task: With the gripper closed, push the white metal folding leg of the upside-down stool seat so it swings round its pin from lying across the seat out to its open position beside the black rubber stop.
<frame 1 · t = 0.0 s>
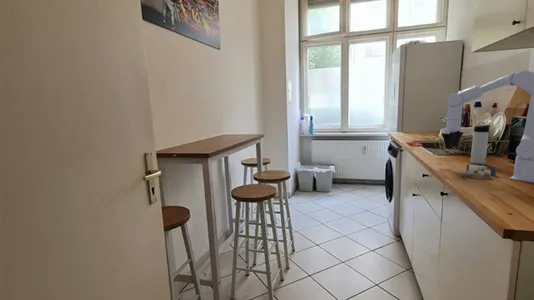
hand: (451, 147, 139), 10 cm above the worktop, tool pointing down, fingers open, 7 cm apart
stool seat: (474, 175, 125), on the worktop
rubber stop: (492, 175, 126), on the worktop
hinged leg: (476, 168, 127), point 3 cm above the worktop, hinge at 0.0°
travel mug: (477, 164, 148), on the worktop
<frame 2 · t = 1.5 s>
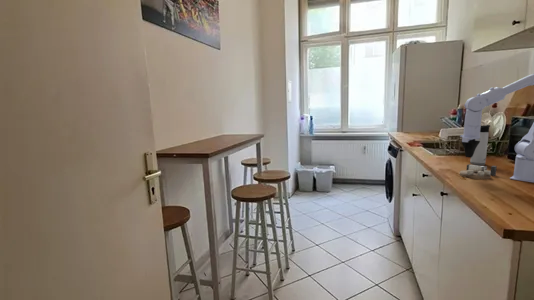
hand: (469, 157, 125), 8 cm above the worktop, tool pointing down, fingers closed
nothing on the worktop moved.
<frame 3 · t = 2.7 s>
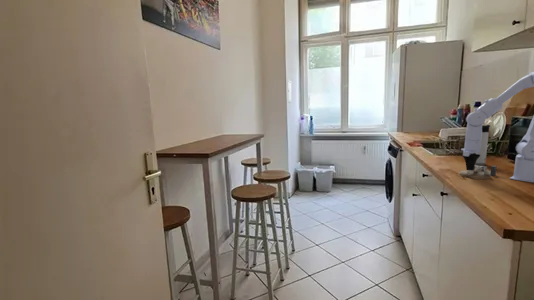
hand: (469, 170, 127), 2 cm above the worktop, tool pointing down, fingers closed
hinged leg: (476, 168, 127), point 3 cm above the worktop, hinge at 0.2°, touching gripper
everything else where it was.
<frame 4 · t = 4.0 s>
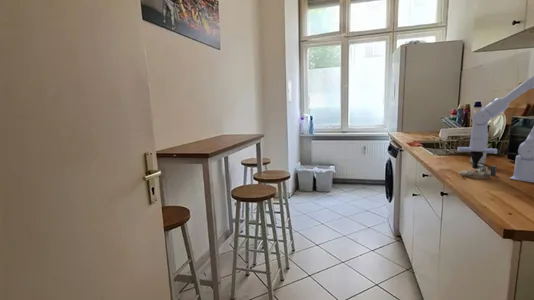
hand: (474, 168, 130), 2 cm above the worktop, tool pointing down, fingers closed, pressing on hinged leg
hinged leg: (481, 168, 127), point 3 cm above the worktop, hinge at 54.1°, touching gripper
everything else where it was.
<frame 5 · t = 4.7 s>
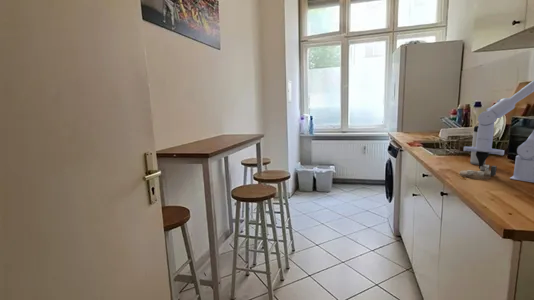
hand: (480, 168, 129), 2 cm above the worktop, tool pointing down, fingers closed, pressing on hinged leg
hinged leg: (484, 168, 126), point 3 cm above the worktop, hinge at 85.0°, touching gripper
everything else where it was.
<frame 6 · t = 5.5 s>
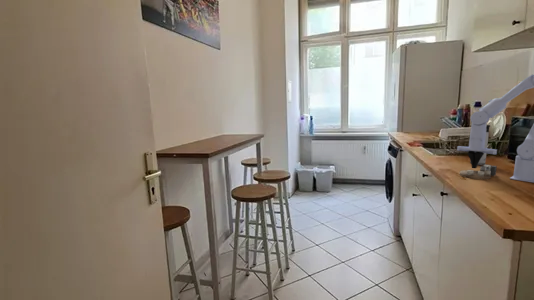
hand: (474, 167, 131), 2 cm above the worktop, tool pointing down, fingers closed
hinged leg: (485, 168, 126), point 3 cm above the worktop, hinge at 91.4°
everything else where it was.
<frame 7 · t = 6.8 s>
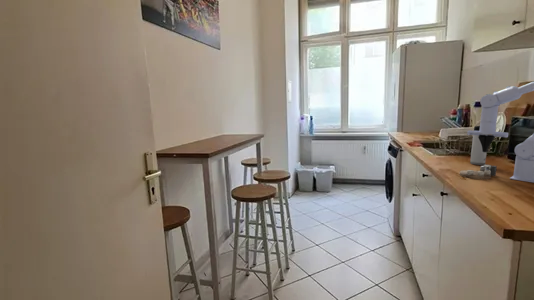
hand: (484, 151, 130), 9 cm above the worktop, tool pointing down, fingers closed
hinged leg: (485, 168, 126), point 3 cm above the worktop, hinge at 91.8°
everything else where it was.
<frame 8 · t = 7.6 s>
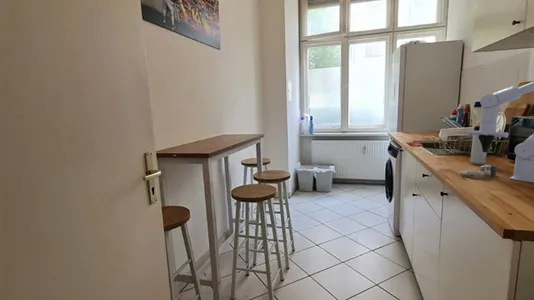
hand: (484, 151, 130), 9 cm above the worktop, tool pointing down, fingers closed
nothing on the worktop moved.
at the end: hinged leg at +92° (first picture: +0°); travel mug moved 0.2 cm from its start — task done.
